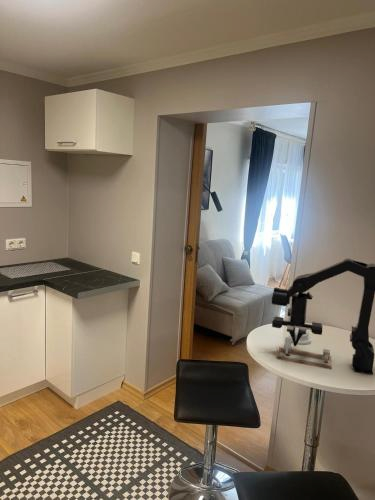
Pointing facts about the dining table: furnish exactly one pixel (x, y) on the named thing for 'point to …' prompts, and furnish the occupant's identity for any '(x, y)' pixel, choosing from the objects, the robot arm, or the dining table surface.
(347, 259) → the robot arm
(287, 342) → the block
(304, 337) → the mechanical component
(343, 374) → the dining table surface
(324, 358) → the board
